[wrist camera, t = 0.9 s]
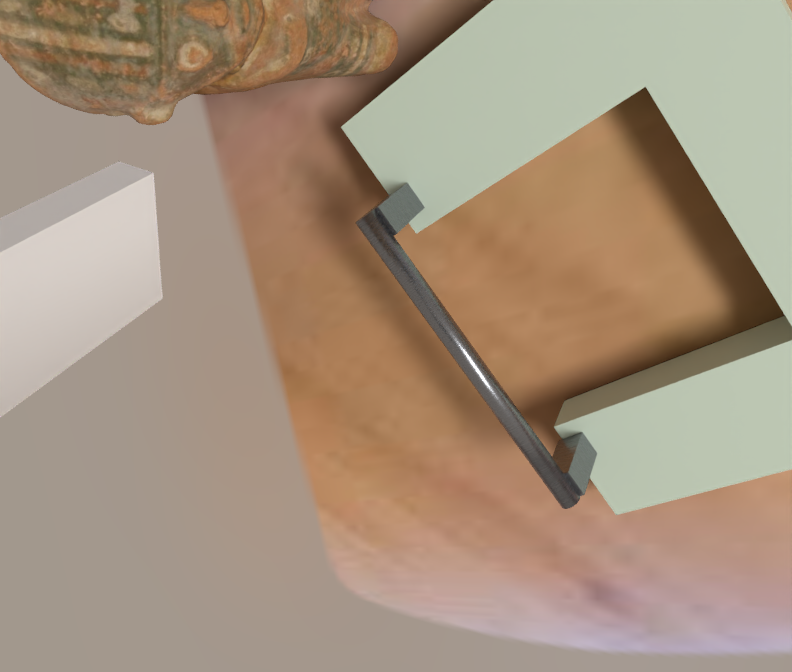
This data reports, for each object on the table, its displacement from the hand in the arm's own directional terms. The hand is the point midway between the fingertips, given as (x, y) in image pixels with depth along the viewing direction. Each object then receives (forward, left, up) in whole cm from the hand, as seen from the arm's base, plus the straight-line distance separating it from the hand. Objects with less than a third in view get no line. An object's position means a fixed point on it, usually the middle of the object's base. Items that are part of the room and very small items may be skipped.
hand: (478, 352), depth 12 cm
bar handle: (+6, -12, -20) cm, 24 cm away
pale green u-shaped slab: (+6, -4, -22) cm, 23 cm away
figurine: (-12, -10, -23) cm, 27 cm away
